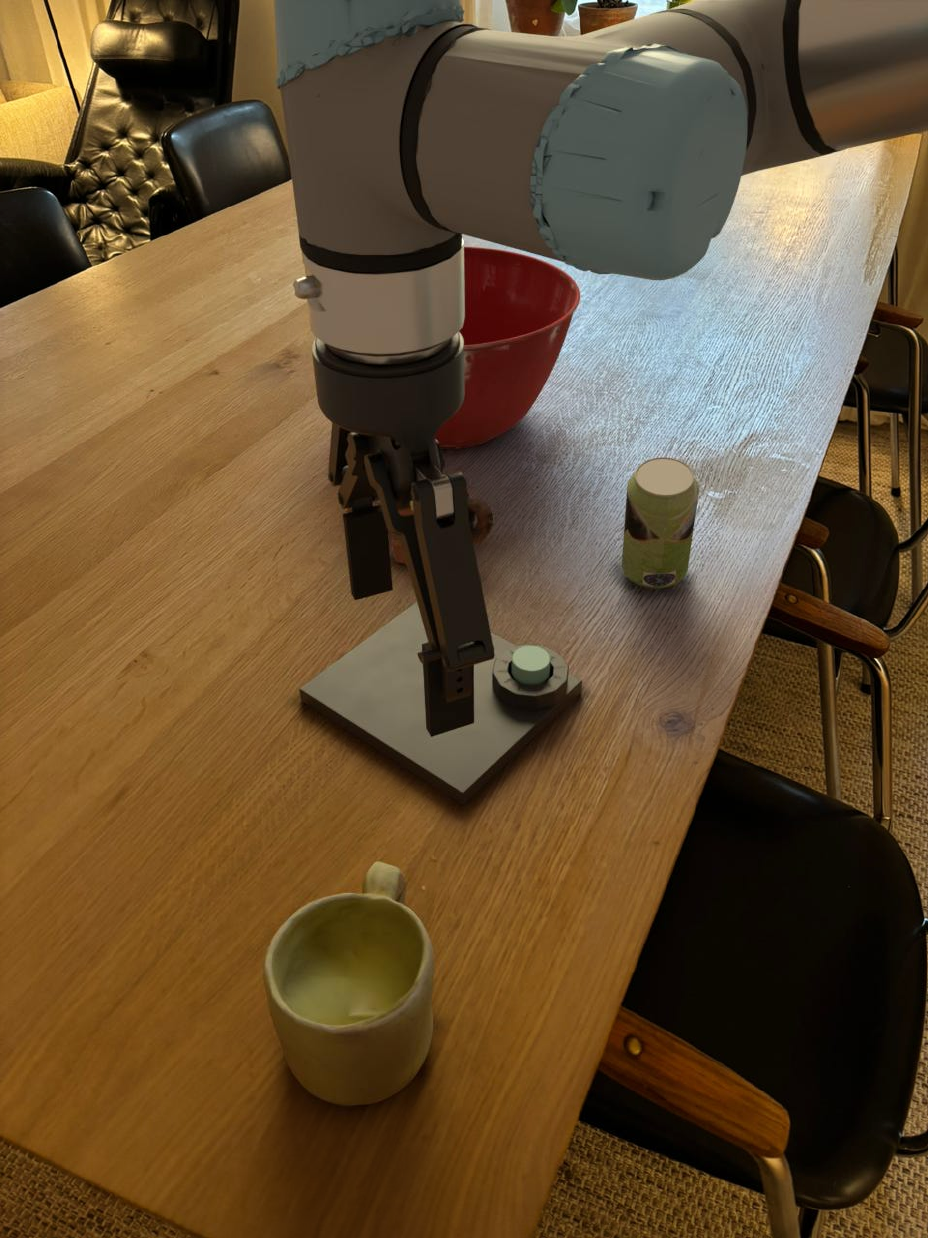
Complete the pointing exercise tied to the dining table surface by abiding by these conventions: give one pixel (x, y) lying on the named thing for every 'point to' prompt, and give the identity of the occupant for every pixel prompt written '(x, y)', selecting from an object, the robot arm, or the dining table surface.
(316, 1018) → the mug
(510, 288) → the mixing bowl
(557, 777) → the dining table surface
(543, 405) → the dining table surface
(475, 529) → the pottery mug
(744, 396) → the dining table surface
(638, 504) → the beverage can
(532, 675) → the power button
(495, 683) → the scale
